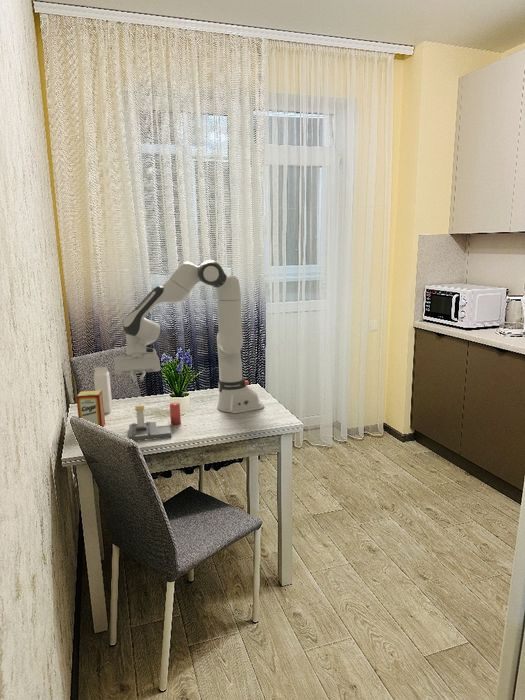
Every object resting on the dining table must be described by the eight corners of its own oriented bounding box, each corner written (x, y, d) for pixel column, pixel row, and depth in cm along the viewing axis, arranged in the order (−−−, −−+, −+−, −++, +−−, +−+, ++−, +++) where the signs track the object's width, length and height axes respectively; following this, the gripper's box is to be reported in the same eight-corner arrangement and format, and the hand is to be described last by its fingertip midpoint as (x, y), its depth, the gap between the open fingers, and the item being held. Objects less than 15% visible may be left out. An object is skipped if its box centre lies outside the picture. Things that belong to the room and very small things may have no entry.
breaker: (146, 424, 214) (144, 405, 212) (146, 429, 209) (145, 408, 207) (135, 425, 213) (134, 406, 211) (135, 430, 208) (134, 409, 206)
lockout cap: (180, 421, 224) (179, 402, 222) (181, 424, 220) (180, 405, 218) (170, 422, 223) (169, 403, 221) (171, 425, 219) (170, 406, 217)
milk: (110, 413, 237) (106, 368, 232) (97, 413, 236) (92, 369, 231) (112, 409, 242) (108, 365, 237) (99, 409, 242) (95, 365, 237)
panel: (169, 424, 220) (168, 419, 220) (171, 437, 206) (170, 431, 205) (129, 428, 216) (129, 422, 216) (129, 441, 202) (128, 435, 201)
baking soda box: (79, 430, 216) (76, 395, 212) (83, 424, 222) (80, 390, 218) (102, 429, 217) (98, 394, 213) (105, 423, 223) (102, 389, 219)
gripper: (112, 351, 223) (113, 378, 216) (158, 348, 228) (161, 374, 221) (114, 359, 228) (114, 385, 221) (159, 356, 233) (161, 381, 226)
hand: (138, 380), depth 221 cm, fingers closed
